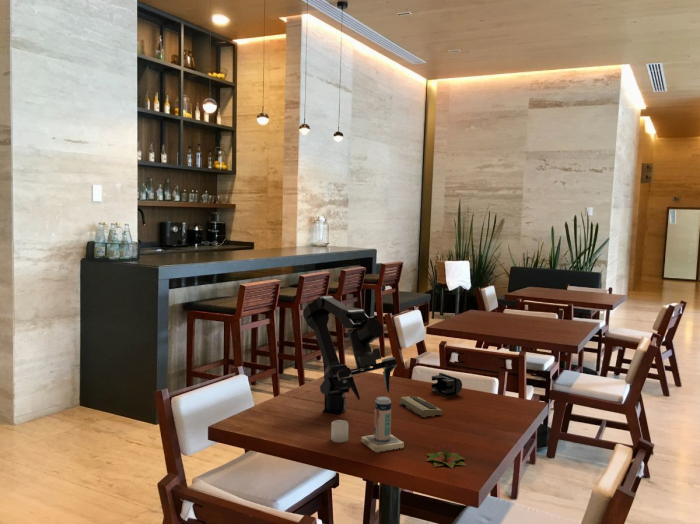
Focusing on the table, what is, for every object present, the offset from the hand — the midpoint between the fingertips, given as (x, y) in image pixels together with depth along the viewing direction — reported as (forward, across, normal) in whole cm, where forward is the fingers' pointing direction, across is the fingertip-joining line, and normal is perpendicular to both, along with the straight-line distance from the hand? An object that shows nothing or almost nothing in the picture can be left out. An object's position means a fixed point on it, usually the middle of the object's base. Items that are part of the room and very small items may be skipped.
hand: (373, 396), depth 186 cm
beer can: (+13, -2, -6) cm, 15 cm away
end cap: (+1, +33, +42) cm, 53 cm away
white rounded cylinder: (+10, -13, -2) cm, 17 cm away
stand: (+15, -2, -6) cm, 16 cm away
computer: (+6, +18, +24) cm, 31 cm away
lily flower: (+24, +12, -16) cm, 31 cm away
